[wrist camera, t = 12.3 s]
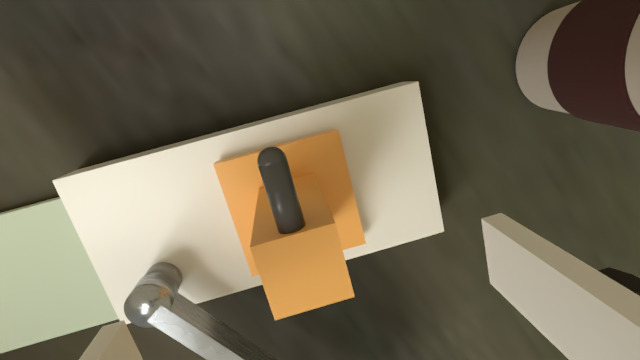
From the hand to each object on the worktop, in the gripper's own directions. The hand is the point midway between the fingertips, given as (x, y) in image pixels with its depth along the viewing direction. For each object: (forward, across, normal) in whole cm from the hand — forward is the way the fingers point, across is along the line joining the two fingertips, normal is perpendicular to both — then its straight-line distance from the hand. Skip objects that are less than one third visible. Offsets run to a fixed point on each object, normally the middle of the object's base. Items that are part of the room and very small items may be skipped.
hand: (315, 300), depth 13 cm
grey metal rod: (+11, -6, -11) cm, 16 cm away
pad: (+15, -22, -1) cm, 26 cm away
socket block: (+15, -2, 0) cm, 16 cm away
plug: (+15, 0, 0) cm, 15 cm away
